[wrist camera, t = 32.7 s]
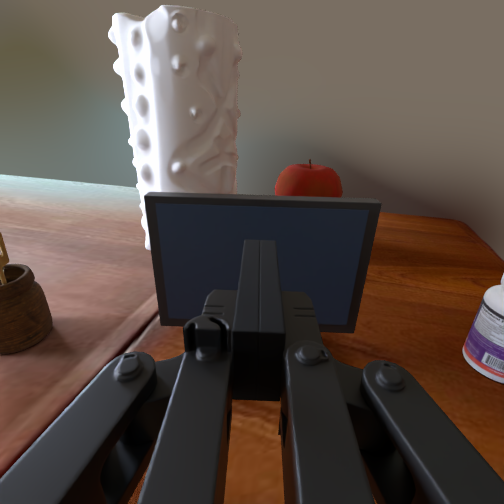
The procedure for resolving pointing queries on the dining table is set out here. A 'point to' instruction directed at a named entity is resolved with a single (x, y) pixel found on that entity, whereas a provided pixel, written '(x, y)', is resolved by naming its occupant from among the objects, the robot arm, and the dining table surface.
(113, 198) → the dining table surface
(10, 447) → the dining table surface
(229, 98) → the vase
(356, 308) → the monitor screen
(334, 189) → the apple
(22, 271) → the utensil holder
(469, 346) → the pill bottle
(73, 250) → the dining table surface
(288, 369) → the robot arm
